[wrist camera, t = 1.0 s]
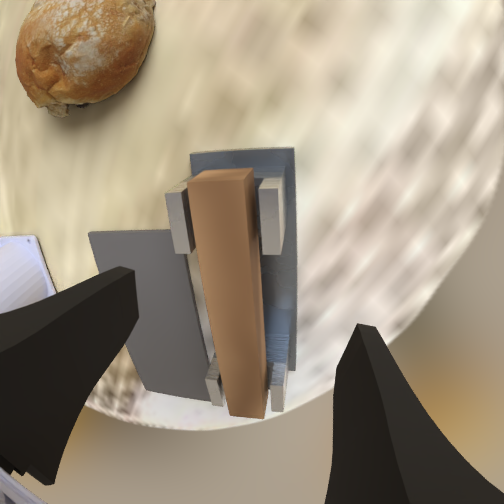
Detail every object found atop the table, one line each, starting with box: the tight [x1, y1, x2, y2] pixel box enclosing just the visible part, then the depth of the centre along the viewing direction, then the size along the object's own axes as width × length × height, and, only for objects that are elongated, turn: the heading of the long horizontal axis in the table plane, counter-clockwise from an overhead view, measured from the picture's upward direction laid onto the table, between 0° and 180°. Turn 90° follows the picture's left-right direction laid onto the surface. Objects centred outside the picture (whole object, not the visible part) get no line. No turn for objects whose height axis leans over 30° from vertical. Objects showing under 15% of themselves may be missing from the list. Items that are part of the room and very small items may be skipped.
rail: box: [187, 168, 268, 419], centre depth 17 cm, size 2×16×2 cm, turn 4°
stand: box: [165, 147, 297, 412], centre depth 18 cm, size 6×17×6 cm, turn 4°
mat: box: [88, 230, 211, 402], centre depth 25 cm, size 8×18×1 cm, turn 4°
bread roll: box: [15, 0, 156, 118], centre depth 13 cm, size 10×10×8 cm
